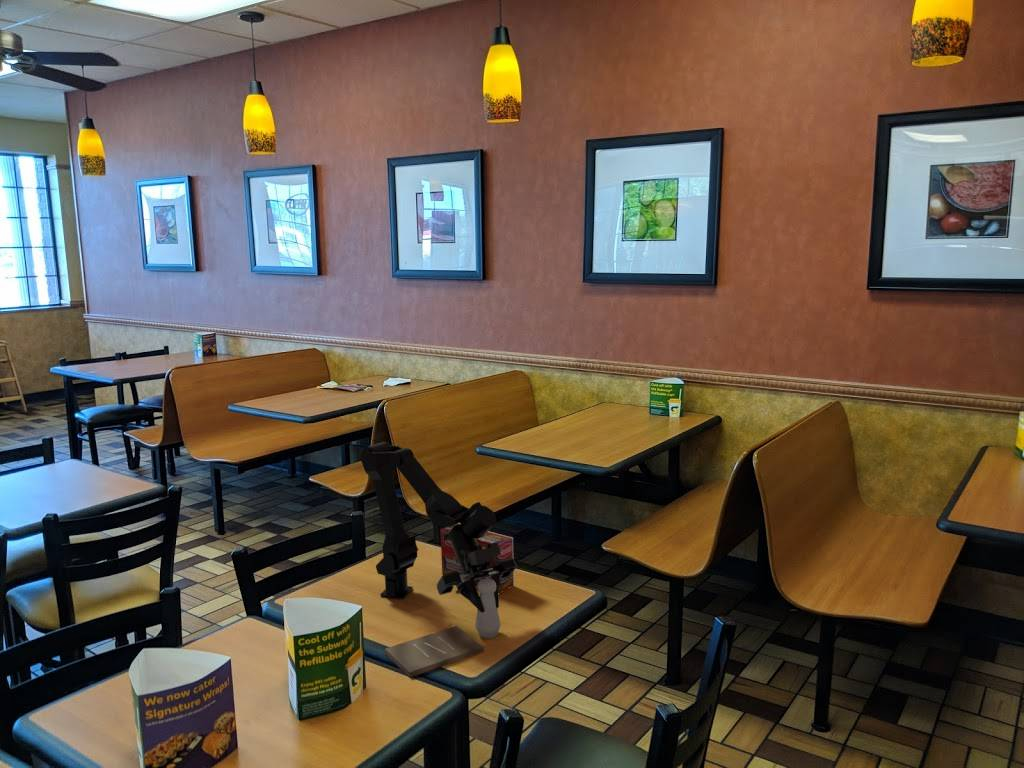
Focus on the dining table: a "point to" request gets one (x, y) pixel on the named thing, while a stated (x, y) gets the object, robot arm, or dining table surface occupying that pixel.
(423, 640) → the marked board
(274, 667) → the dining table surface
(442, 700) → the dining table surface
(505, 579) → the ice cream box
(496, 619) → the salt shaker
